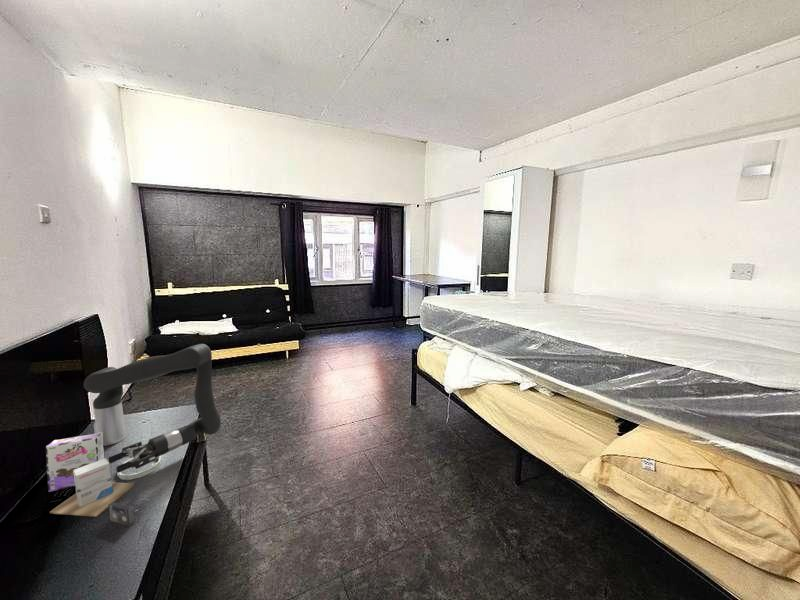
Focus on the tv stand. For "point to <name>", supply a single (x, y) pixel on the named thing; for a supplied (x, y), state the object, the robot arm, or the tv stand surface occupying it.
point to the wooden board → (93, 507)
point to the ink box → (93, 481)
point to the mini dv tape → (121, 513)
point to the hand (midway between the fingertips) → (112, 465)
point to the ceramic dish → (140, 474)
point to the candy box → (71, 458)
